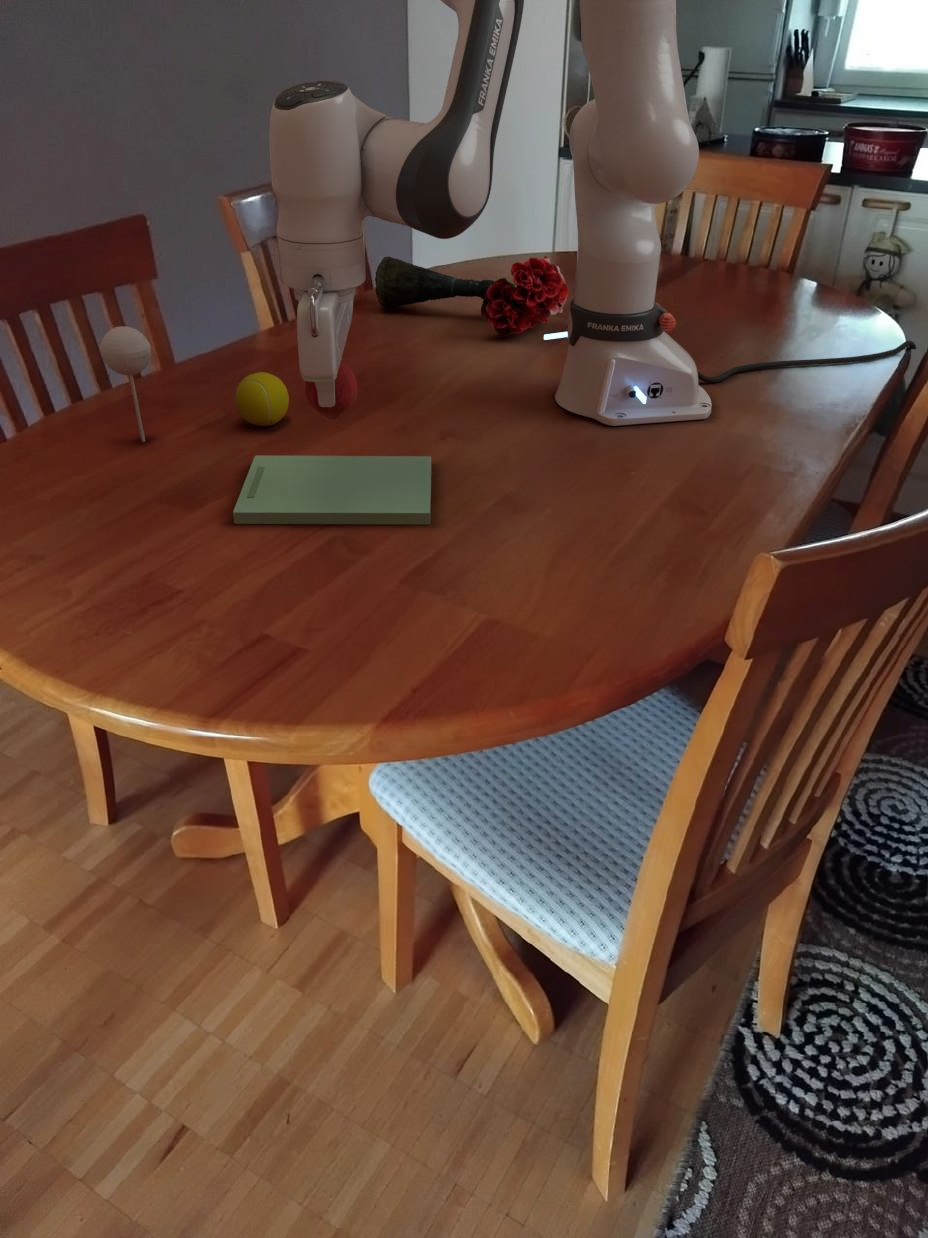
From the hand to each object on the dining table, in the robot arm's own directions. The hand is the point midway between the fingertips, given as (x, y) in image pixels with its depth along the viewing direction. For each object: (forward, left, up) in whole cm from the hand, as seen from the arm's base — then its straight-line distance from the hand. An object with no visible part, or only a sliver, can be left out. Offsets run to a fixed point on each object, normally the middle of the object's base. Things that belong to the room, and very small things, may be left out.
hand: (331, 392), depth 105 cm
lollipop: (+27, -15, -13) cm, 33 cm away
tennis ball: (+12, -21, -13) cm, 27 cm away
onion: (0, 0, -3) cm, 3 cm away
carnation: (-17, -67, -13) cm, 70 cm away
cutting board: (0, 0, -13) cm, 13 cm away
